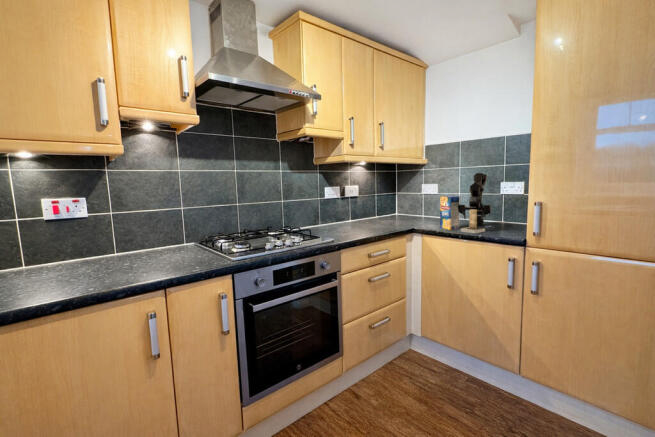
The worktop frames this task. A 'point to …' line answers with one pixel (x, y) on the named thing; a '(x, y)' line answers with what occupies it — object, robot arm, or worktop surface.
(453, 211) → the blue yellow food box
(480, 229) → the hole plate
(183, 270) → the worktop surface
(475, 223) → the maple peg
